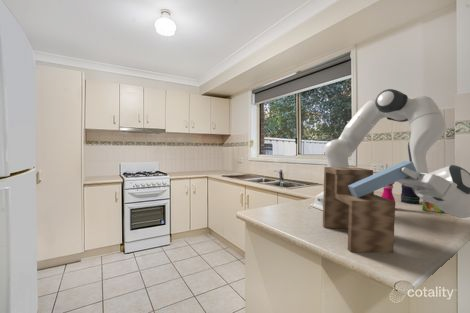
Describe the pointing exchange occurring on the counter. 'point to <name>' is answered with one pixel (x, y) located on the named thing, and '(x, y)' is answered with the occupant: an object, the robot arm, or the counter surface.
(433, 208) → the chalk box
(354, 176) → the step shelf
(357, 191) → the beam
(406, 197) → the storage jar
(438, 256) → the counter surface
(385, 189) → the pepper mill
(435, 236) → the counter surface
